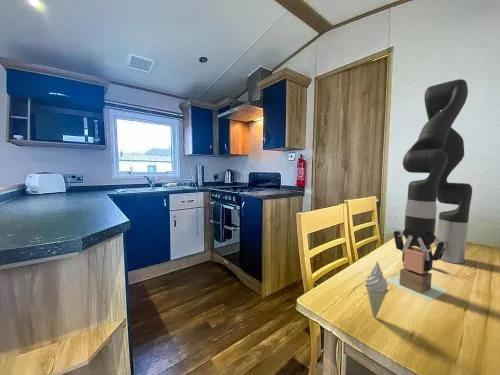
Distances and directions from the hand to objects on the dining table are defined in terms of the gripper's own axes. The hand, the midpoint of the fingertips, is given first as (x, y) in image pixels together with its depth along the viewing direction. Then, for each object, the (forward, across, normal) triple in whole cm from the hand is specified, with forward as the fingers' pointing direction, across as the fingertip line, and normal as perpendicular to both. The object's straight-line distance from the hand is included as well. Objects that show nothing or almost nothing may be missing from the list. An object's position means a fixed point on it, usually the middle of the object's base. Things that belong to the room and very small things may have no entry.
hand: (416, 267), depth 69 cm
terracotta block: (0, 0, 0) cm, 0 cm away
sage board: (+8, 0, -1) cm, 8 cm away
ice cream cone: (+8, -2, +24) cm, 25 cm away
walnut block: (+6, 0, 0) cm, 6 cm away
